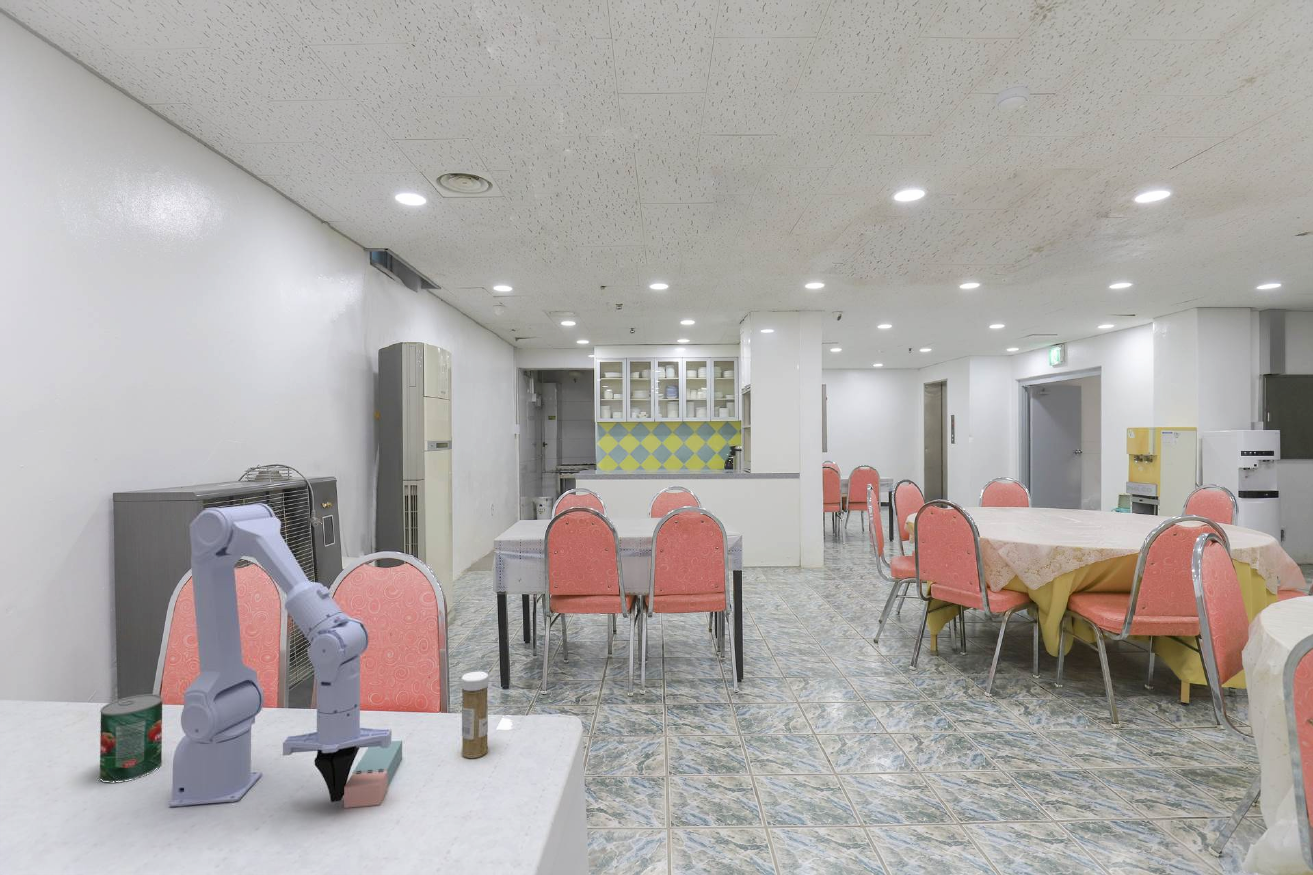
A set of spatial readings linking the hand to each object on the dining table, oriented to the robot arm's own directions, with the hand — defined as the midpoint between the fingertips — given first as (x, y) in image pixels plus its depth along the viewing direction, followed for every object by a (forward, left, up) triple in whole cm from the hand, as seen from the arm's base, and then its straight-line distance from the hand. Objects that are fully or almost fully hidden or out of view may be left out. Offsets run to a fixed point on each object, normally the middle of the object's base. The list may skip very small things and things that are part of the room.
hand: (337, 797), depth 93 cm
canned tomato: (-37, +16, -1) cm, 40 cm away
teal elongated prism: (+3, +8, -1) cm, 9 cm away
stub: (+4, +1, -1) cm, 4 cm away
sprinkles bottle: (+18, +13, -1) cm, 22 cm away
